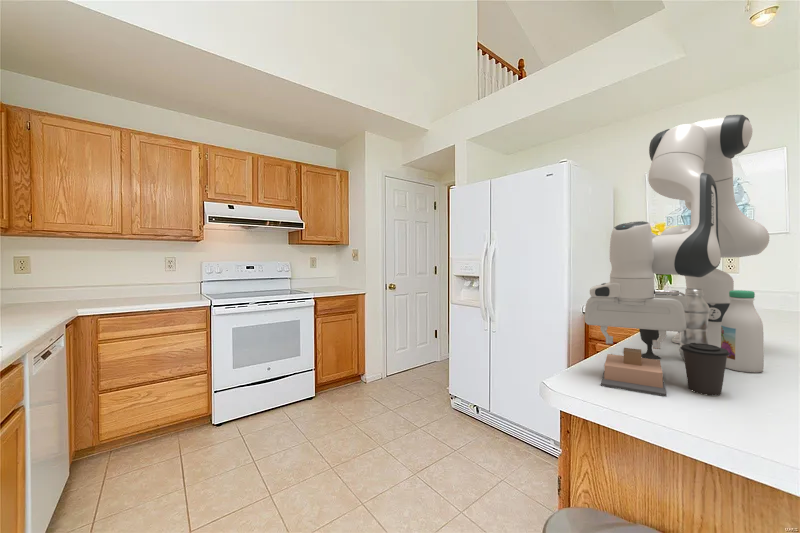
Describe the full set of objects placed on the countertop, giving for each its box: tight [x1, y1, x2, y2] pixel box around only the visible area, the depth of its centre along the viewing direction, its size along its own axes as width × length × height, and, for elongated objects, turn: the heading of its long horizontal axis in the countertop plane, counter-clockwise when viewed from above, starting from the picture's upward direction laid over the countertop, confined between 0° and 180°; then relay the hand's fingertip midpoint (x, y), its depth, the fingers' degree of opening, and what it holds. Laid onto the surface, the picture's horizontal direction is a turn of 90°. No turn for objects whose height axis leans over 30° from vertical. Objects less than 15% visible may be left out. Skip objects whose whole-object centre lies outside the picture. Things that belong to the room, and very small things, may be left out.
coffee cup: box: [679, 343, 730, 396], centre depth 74 cm, size 8×8×10 cm
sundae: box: [638, 329, 661, 360], centre depth 99 cm, size 7×7×15 cm
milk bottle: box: [721, 289, 765, 374], centre depth 87 cm, size 8×8×20 cm
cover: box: [603, 347, 664, 388], centre depth 83 cm, size 11×11×6 cm
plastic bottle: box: [678, 288, 710, 360], centre depth 94 cm, size 6×7×20 cm
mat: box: [600, 372, 667, 397], centre depth 83 cm, size 18×12×1 cm, turn 145°
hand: (632, 346), depth 83 cm, fingers open, 8 cm apart
